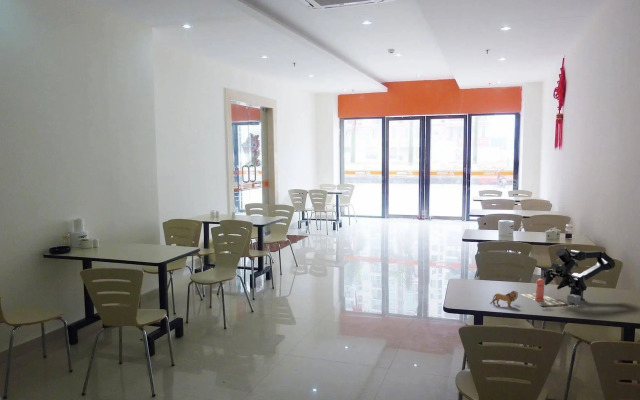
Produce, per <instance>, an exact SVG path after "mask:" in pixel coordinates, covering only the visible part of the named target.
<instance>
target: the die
mask: <svg viewBox="0 0 640 400" xmlns="http://www.w3.org/2000/svg"><path fill="white" fill-rule="evenodd" d="M566 297H567V298H566V302H567V303H569V305H571V306H573V305H574V307H577V305H578V306H581V301H582V300H581V296H578V295H574V294H571V295H570V294H567V296H566Z"/></svg>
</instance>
